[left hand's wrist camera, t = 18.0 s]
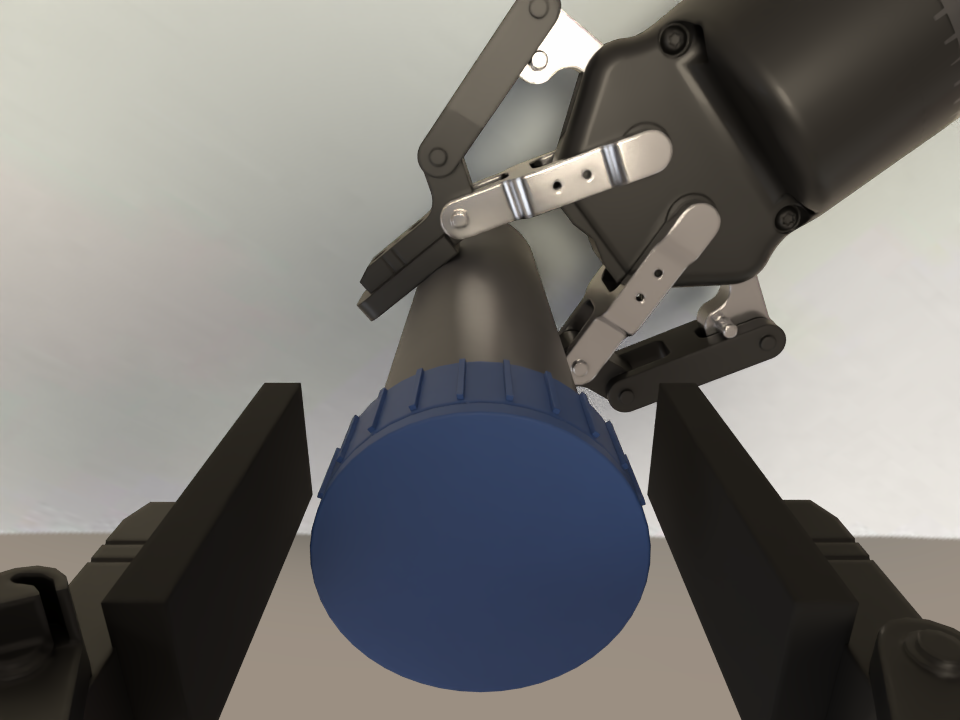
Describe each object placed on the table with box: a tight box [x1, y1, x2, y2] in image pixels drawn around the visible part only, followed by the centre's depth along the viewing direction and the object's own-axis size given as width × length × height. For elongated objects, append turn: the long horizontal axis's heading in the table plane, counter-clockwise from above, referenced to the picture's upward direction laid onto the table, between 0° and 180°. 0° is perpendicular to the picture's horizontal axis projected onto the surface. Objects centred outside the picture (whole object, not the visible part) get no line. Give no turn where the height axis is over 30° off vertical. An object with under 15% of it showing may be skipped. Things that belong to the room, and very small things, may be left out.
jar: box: [385, 224, 578, 393], centre depth 20 cm, size 5×5×18 cm
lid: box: [310, 358, 651, 692], centre depth 12 cm, size 6×6×2 cm
